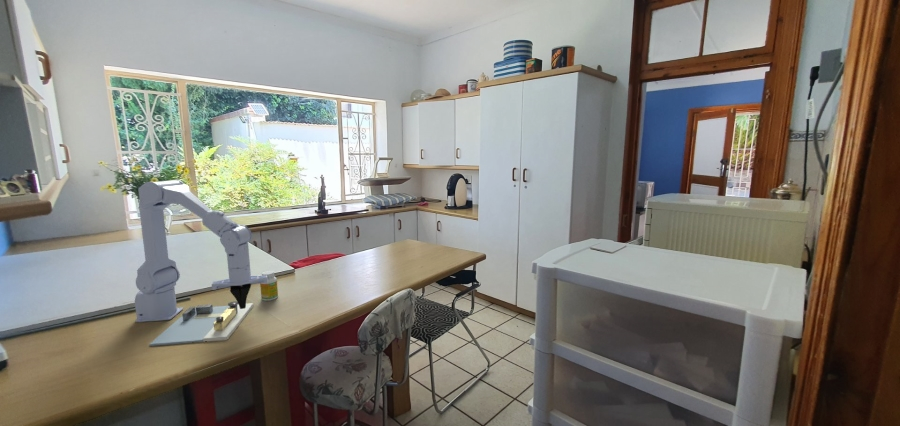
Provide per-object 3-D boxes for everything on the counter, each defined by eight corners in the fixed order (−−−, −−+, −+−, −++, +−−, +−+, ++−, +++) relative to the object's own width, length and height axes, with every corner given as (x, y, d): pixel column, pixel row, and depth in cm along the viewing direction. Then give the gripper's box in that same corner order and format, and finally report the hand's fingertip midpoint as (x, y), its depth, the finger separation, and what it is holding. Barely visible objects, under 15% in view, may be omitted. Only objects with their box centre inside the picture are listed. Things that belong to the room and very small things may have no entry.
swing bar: (228, 314, 109) (227, 305, 109) (236, 313, 110) (235, 305, 109) (214, 330, 99) (213, 320, 99) (222, 329, 100) (221, 320, 99)
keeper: (183, 321, 106) (182, 313, 105) (192, 312, 111) (191, 305, 111) (204, 319, 107) (203, 312, 107) (213, 311, 113) (212, 304, 112)
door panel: (149, 346, 93) (149, 342, 93) (191, 309, 114) (190, 306, 114) (227, 339, 97) (227, 336, 97) (253, 305, 118) (253, 303, 118)
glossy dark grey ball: (227, 318, 109) (226, 305, 109) (231, 314, 112) (230, 301, 111) (237, 317, 110) (236, 304, 109) (240, 313, 113) (239, 301, 112)
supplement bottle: (271, 301, 122) (269, 275, 120) (257, 300, 123) (255, 274, 121) (281, 295, 127) (279, 270, 125) (268, 294, 128) (266, 269, 126)
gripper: (266, 259, 111) (269, 298, 114) (213, 264, 105) (217, 306, 108) (265, 265, 105) (268, 307, 107) (208, 272, 99) (213, 315, 101)
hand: (243, 307), depth 107 cm, fingers closed
